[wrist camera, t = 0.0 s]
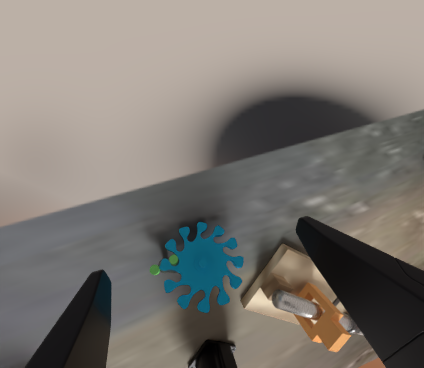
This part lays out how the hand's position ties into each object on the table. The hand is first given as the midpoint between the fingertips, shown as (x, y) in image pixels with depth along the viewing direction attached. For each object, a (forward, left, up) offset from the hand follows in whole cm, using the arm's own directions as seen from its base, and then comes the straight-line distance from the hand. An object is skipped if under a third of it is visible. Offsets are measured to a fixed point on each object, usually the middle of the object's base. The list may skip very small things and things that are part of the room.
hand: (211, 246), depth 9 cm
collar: (-8, -28, -13) cm, 32 cm away
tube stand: (-8, -33, -15) cm, 38 cm away
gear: (-8, -7, -16) cm, 19 cm away
